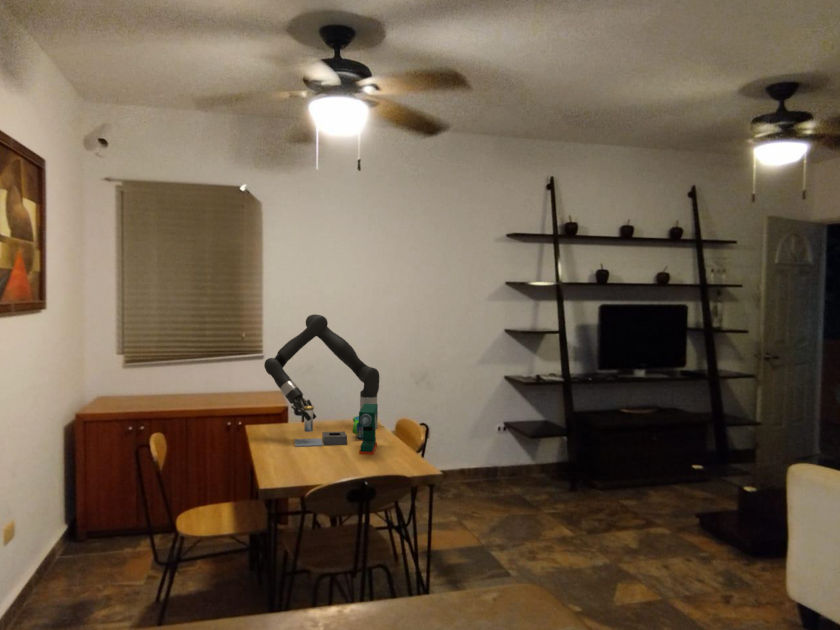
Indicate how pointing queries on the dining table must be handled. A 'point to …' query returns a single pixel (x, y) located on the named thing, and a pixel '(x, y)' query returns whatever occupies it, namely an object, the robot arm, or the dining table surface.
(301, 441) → the mat
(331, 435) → the socket block
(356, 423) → the snack cup
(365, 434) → the power tool
